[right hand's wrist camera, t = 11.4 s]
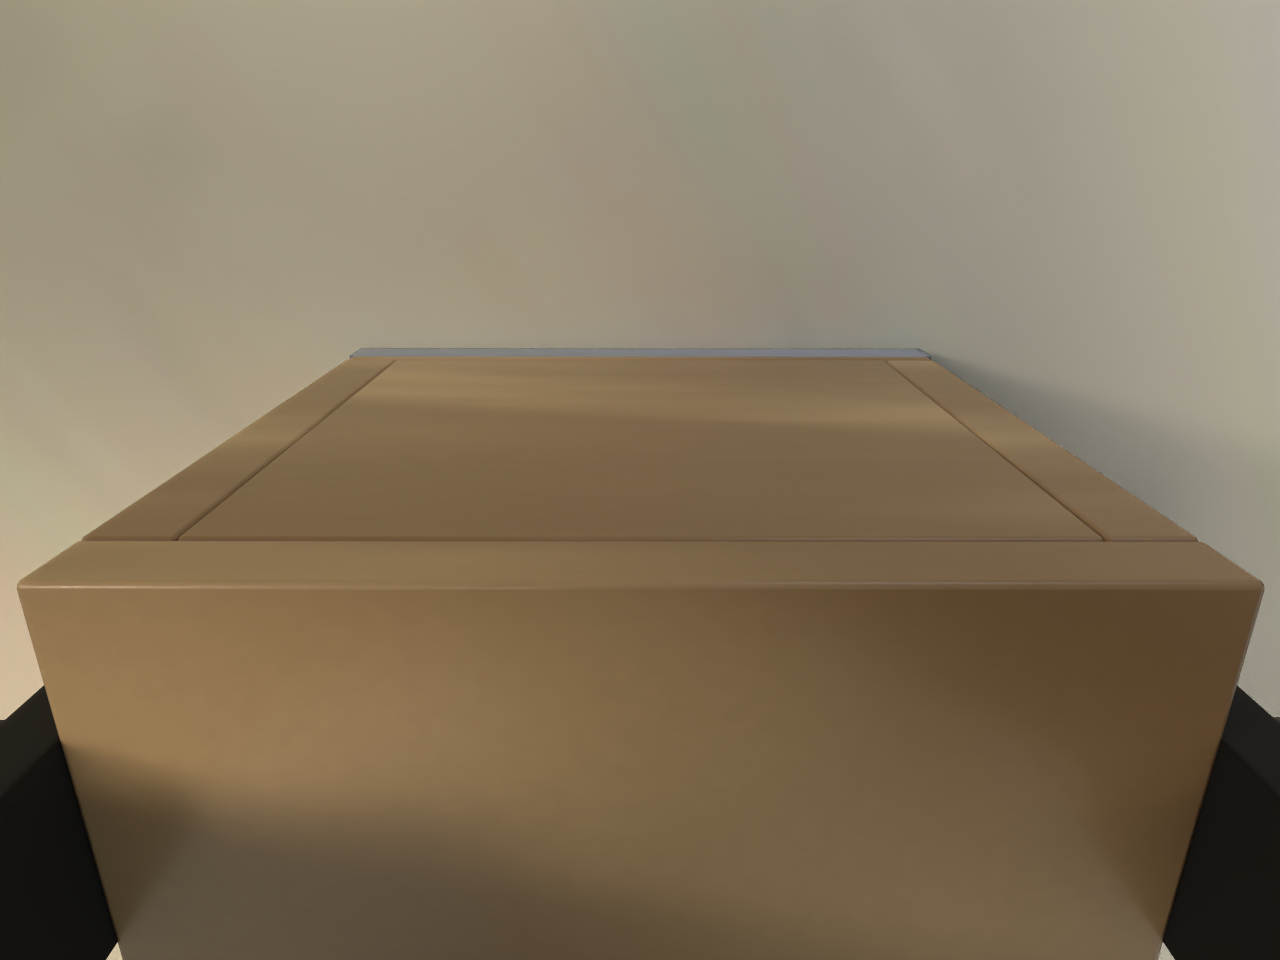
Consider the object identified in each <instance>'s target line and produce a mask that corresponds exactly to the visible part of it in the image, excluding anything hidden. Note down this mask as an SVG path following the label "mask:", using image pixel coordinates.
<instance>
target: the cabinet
mask: <svg viewBox="0 0 1280 960" xmlns="http://www.w3.org/2000/svg"><path fill="white" fill-rule="evenodd" d="M17 591H18V595H19V598H20V602H21V605H22V609H23V612H24V616H25V619H26V623H27V626H28V630H29V633H30V637H31V640H32V644H33V647H34V650H35V654H36V657H37V661H38V664H39V668H40V671H41V675H42V678H43V682H44V685H45V689H46V692H47V696H48V699H49V703H50V706H51V710H52V713H53V717H54V720H55V724H56V727H57V731H58V734H59V738H60V741H61V745H62V748H63V752H64V755H65V759H66V762H67V766H68V769H69V773H70V776H71V780H72V783H73V787H74V790H75V794H76V797H77V801H78V804H79V808H80V811H81V815H82V818H83V822H84V825H85V829H86V832H87V836H88V839H89V843H90V846H91V850H92V853H93V857H94V860H95V864H96V867H97V871H98V874H99V878H100V881H101V885H102V888H103V892H104V895H105V899H106V902H107V906H108V909H109V913H110V916H111V920H112V923H113V927H114V930H115V934H116V937H117V941H118V944H119V948H120V951H121V955H122V958H123V960H1158V956H1159V953H1160V949H1161V946H1162V942H1163V939H1164V935H1165V932H1166V928H1167V925H1168V922H1169V918H1170V915H1171V911H1172V908H1173V904H1174V901H1175V897H1176V894H1177V890H1178V887H1179V883H1180V880H1181V877H1182V873H1183V870H1184V866H1185V863H1186V859H1187V856H1188V852H1189V849H1190V845H1191V842H1192V838H1193V835H1194V832H1195V828H1196V825H1197V821H1198V818H1199V814H1200V811H1201V807H1202V804H1203V800H1204V797H1205V793H1206V790H1207V787H1208V783H1209V780H1210V776H1211V773H1212V769H1213V766H1214V762H1215V759H1216V755H1217V752H1218V748H1219V745H1220V742H1221V738H1222V735H1223V731H1224V728H1225V724H1226V721H1227V717H1228V714H1229V710H1230V707H1231V703H1232V700H1233V697H1234V693H1235V690H1236V686H1237V683H1238V679H1239V676H1240V672H1241V669H1242V665H1243V662H1244V659H1245V655H1246V652H1247V648H1248V645H1249V641H1250V638H1251V634H1252V631H1253V627H1254V624H1255V620H1256V617H1257V614H1258V610H1259V607H1260V603H1261V600H1262V596H1263V593H1264V585H1263V583H1262V582H1261V581H1260V580H1258V579H1257V578H1256V577H1254V576H1253V575H1251V574H1250V573H1248V572H1247V571H1245V570H1244V569H1242V568H1241V567H1239V566H1238V565H1236V564H1235V563H1233V562H1232V561H1230V560H1229V559H1227V558H1226V557H1224V556H1223V555H1221V554H1220V553H1218V552H1217V551H1215V550H1214V549H1212V548H1211V547H1209V546H1208V545H1206V544H1204V543H1202V542H1198V540H1197V538H1196V537H1195V536H1193V535H1192V534H1190V533H1189V532H1187V531H1186V530H1184V529H1183V528H1181V527H1180V526H1178V525H1177V524H1175V523H1174V522H1172V521H1171V520H1169V519H1168V518H1166V517H1165V516H1163V515H1162V514H1160V513H1159V512H1157V511H1156V510H1154V509H1153V508H1151V507H1150V506H1149V505H1147V504H1146V503H1144V502H1143V501H1141V500H1140V499H1138V498H1137V497H1135V496H1134V495H1132V494H1131V493H1129V492H1128V491H1126V490H1125V489H1123V488H1122V487H1120V486H1119V485H1117V484H1116V483H1114V482H1113V481H1111V480H1110V479H1108V478H1107V477H1105V476H1104V475H1102V474H1101V473H1099V472H1098V471H1096V470H1095V469H1093V468H1092V467H1091V466H1089V465H1088V464H1086V463H1085V462H1083V461H1082V460H1080V459H1079V458H1077V457H1076V456H1074V455H1073V454H1071V453H1070V452H1068V451H1067V450H1065V449H1064V448H1062V447H1061V446H1059V445H1058V444H1056V443H1055V442H1053V441H1052V440H1050V439H1049V438H1047V437H1046V436H1044V435H1043V434H1041V433H1040V432H1038V431H1037V430H1036V429H1034V428H1033V427H1031V426H1030V425H1028V424H1027V423H1025V422H1024V421H1022V420H1021V419H1019V418H1018V417H1016V416H1015V415H1013V414H1012V413H1010V412H1009V411H1007V410H1006V409H1004V408H1003V407H1001V406H1000V405H998V404H997V403H995V402H994V401H992V400H991V399H989V398H988V397H986V396H985V395H983V394H982V393H980V392H979V391H978V390H976V389H975V388H973V387H972V386H970V385H969V384H967V383H966V382H964V381H963V380H961V379H960V378H958V377H957V376H955V375H954V374H952V373H951V372H949V371H948V370H946V369H945V368H943V367H942V366H940V365H939V364H937V363H936V362H934V361H932V360H931V359H930V356H929V355H928V354H926V353H925V352H923V351H922V350H920V349H359V350H358V351H356V352H355V353H353V354H352V355H350V359H349V360H346V361H345V362H343V363H342V364H340V365H339V366H337V367H336V368H334V369H333V370H331V371H330V372H328V373H327V374H325V375H324V376H322V377H321V378H319V379H318V380H316V381H315V382H313V383H312V384H310V385H309V386H307V387H306V388H304V389H303V390H301V391H300V392H298V393H297V394H295V395H294V396H293V397H291V398H290V399H288V400H287V401H285V402H284V403H282V404H281V405H279V406H278V407H276V408H275V409H273V410H272V411H270V412H269V413H267V414H266V415H264V416H263V417H261V418H260V419H258V420H257V421H255V422H254V423H252V424H251V425H249V426H248V427H246V428H245V429H243V430H242V431H240V432H239V433H237V434H236V435H235V436H233V437H232V438H230V439H229V440H227V441H226V442H224V443H223V444H221V445H220V446H218V447H217V448H215V449H214V450H212V451H211V452H209V453H208V454H206V455H205V456H203V457H202V458H200V459H199V460H197V461H196V462H194V463H193V464H191V465H190V466H188V467H187V468H185V469H184V470H182V471H181V472H179V473H178V474H177V475H175V476H174V477H172V478H171V479H169V480H168V481H166V482H165V483H163V484H162V485H160V486H159V487H157V488H156V489H154V490H153V491H151V492H150V493H148V494H147V495H145V496H144V497H142V498H141V499H139V500H138V501H136V502H135V503H133V504H132V505H130V506H129V507H127V508H126V509H124V510H123V511H121V512H120V513H119V514H117V515H116V516H114V517H113V518H111V519H110V520H108V521H107V522H105V523H104V524H102V525H101V526H99V527H98V528H96V529H95V530H93V531H92V532H90V533H89V534H87V535H86V536H84V537H83V539H82V541H80V542H77V543H75V544H73V545H72V546H71V547H69V548H68V549H66V550H65V551H63V552H62V553H60V554H59V555H57V556H56V557H54V558H53V559H51V560H50V561H48V562H47V563H45V564H44V565H42V566H41V567H39V568H38V569H36V570H35V571H33V572H32V573H30V574H29V575H27V576H26V577H24V578H23V579H22V580H20V581H19V583H18V584H17Z"/></svg>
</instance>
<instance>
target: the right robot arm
mask: <svg viewBox="0 0 1280 960" xmlns="http://www.w3.org/2000/svg"><path fill="white" fill-rule="evenodd" d="M117 942H118V941H117V937H116V934H115V930H114V927H113V923H112V920H111V916H110V913H109V909H108V906H107V902H106V899H105V895H104V892H103V888H102V885H101V881H100V878H99V874H98V871H97V867H96V864H95V860H94V857H93V853H92V850H91V846H90V843H89V839H88V836H87V832H86V829H85V825H84V822H83V818H82V815H81V811H80V808H79V804H78V801H77V797H76V794H75V790H74V787H73V783H72V780H71V776H70V773H69V769H68V766H67V762H66V759H65V755H64V752H63V748H62V745H61V741H60V738H59V734H58V731H57V727H56V724H55V720H54V717H53V713H52V710H51V706H50V703H49V699H48V696H47V692H46V689H45V685H44V686H43V687H42V688H41V689H39V690H38V691H37V692H36V693H35V694H34V695H33V696H32V697H30V698H29V699H28V700H27V701H26V702H25V703H24V704H23V705H21V706H20V707H19V708H18V709H17V710H16V711H15V712H14V713H12V714H11V715H10V716H9V717H8V718H7V719H6V720H0V960H106V959H107V957H108V956H109V954H110V953H111V951H112V950H113V948H114V947H115V945H116V944H117ZM1163 942H1164V944H1165V945H1166V947H1167V948H1168V950H1169V951H1170V953H1171V954H1172V956H1173V957H1174V959H1175V960H1280V717H1272V716H1271V715H1270V714H1269V713H1267V712H1266V711H1265V710H1264V709H1263V708H1262V707H1261V706H1260V705H1258V704H1257V703H1256V702H1255V701H1254V700H1253V699H1252V698H1251V697H1249V696H1248V695H1247V694H1246V693H1245V692H1244V691H1243V690H1242V689H1240V688H1239V687H1238V686H1236V690H1235V693H1234V697H1233V700H1232V703H1231V707H1230V710H1229V714H1228V717H1227V721H1226V724H1225V728H1224V731H1223V735H1222V738H1221V742H1220V745H1219V748H1218V752H1217V755H1216V759H1215V762H1214V766H1213V769H1212V773H1211V776H1210V780H1209V783H1208V787H1207V790H1206V793H1205V797H1204V800H1203V804H1202V807H1201V811H1200V814H1199V818H1198V821H1197V825H1196V828H1195V832H1194V835H1193V838H1192V842H1191V845H1190V849H1189V852H1188V856H1187V859H1186V863H1185V866H1184V870H1183V873H1182V877H1181V880H1180V883H1179V887H1178V890H1177V894H1176V897H1175V901H1174V904H1173V908H1172V911H1171V915H1170V918H1169V922H1168V925H1167V928H1166V932H1165V935H1164V939H1163Z"/></svg>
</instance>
